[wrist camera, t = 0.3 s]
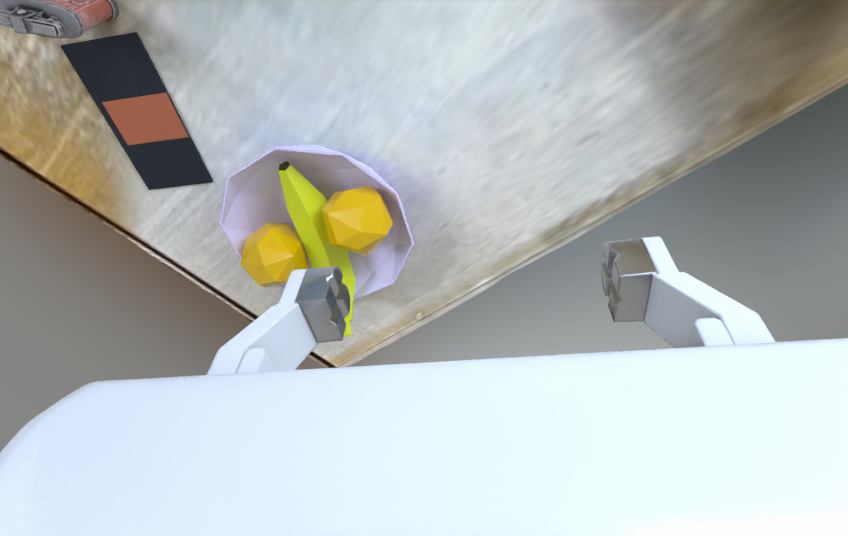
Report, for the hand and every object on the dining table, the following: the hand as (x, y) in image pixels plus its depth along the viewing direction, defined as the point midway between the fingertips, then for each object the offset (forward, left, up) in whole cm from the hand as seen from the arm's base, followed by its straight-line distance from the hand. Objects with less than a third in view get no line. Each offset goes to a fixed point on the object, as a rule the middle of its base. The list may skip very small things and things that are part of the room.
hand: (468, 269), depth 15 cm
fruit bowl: (+28, -24, -47) cm, 60 cm away
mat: (+10, -43, -47) cm, 65 cm away
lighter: (-4, -43, -47) cm, 64 cm away
